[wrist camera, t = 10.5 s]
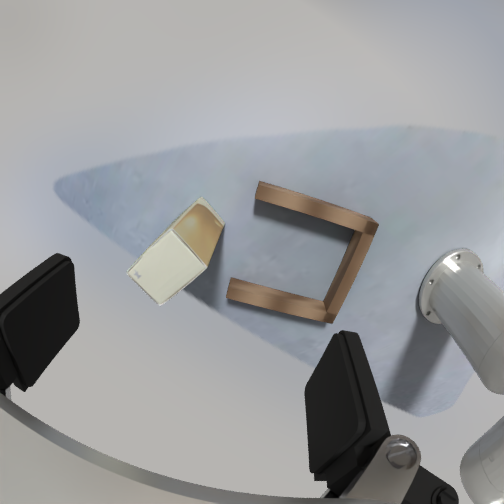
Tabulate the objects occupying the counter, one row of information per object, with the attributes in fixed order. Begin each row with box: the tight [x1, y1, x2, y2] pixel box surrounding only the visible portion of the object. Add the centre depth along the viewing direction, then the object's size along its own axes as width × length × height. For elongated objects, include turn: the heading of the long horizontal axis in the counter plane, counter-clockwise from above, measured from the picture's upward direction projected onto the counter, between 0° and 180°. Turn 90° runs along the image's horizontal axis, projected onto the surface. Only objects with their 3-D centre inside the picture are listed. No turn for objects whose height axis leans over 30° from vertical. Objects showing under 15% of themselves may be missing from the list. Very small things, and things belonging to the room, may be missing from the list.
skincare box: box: [126, 197, 225, 306], centre depth 28 cm, size 6×4×12 cm
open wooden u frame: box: [226, 181, 379, 324], centre depth 33 cm, size 14×14×2 cm
